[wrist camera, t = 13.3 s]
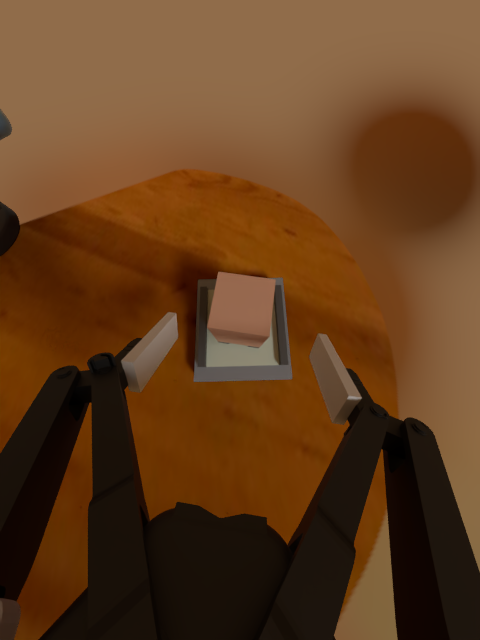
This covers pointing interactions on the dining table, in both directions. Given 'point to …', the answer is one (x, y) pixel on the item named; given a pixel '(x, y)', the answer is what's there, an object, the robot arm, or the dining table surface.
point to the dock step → (240, 359)
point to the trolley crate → (242, 309)
